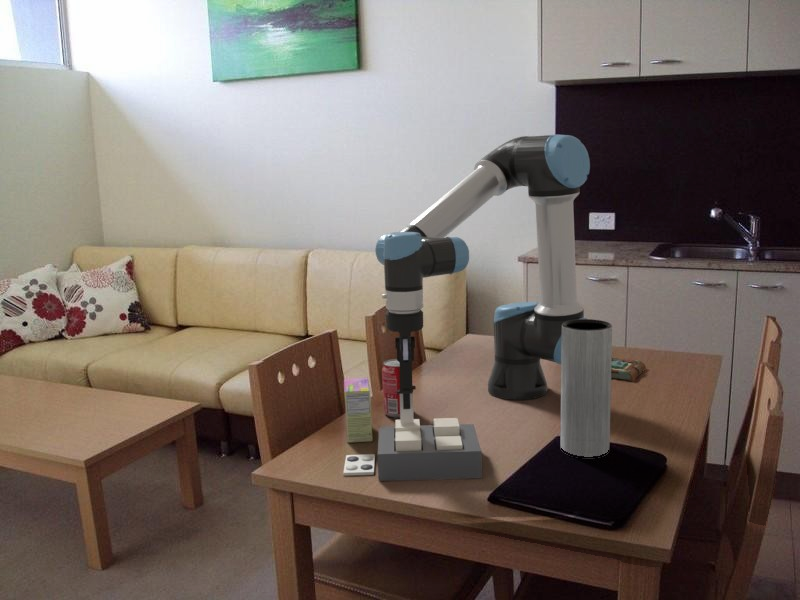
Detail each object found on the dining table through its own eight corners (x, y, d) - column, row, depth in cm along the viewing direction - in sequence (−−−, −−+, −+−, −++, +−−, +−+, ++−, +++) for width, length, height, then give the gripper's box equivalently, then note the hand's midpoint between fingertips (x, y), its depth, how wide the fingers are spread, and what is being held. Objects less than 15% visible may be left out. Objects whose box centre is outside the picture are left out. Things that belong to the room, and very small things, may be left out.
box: (345, 427, 178) (343, 378, 176) (370, 425, 178) (368, 377, 176) (346, 443, 168) (344, 392, 165) (372, 442, 168) (370, 390, 166)
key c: (460, 454, 154) (460, 435, 153) (462, 464, 149) (462, 445, 148) (435, 455, 154) (435, 436, 153) (437, 465, 149) (436, 445, 148)
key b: (419, 437, 160) (419, 419, 160) (420, 446, 156) (420, 427, 155) (396, 437, 160) (395, 419, 160) (396, 446, 156) (395, 428, 155)
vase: (600, 462, 153) (603, 331, 148) (553, 453, 159) (554, 326, 154) (615, 446, 162) (618, 321, 157) (569, 437, 167) (571, 317, 162)
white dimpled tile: (375, 456, 160) (374, 453, 160) (373, 474, 151) (373, 471, 151) (346, 457, 160) (346, 454, 160) (343, 475, 151) (343, 472, 151)
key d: (420, 449, 154) (420, 430, 153) (421, 459, 149) (421, 440, 148) (396, 450, 154) (395, 431, 153) (396, 460, 149) (395, 440, 148)
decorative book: (651, 371, 216) (651, 353, 215) (633, 387, 202) (633, 369, 201) (604, 365, 223) (605, 348, 222) (584, 380, 209) (584, 363, 208)
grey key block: (473, 448, 163) (473, 423, 162) (481, 477, 148) (481, 451, 147) (380, 451, 163) (379, 426, 162) (378, 481, 148) (377, 454, 147)
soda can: (410, 419, 182) (408, 366, 179) (380, 418, 183) (378, 365, 181) (415, 409, 188) (414, 358, 186) (387, 408, 190) (385, 357, 187)
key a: (457, 435, 161) (457, 417, 160) (459, 444, 156) (459, 426, 155) (434, 436, 160) (433, 418, 160) (435, 445, 156) (434, 427, 155)
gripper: (385, 304, 159) (389, 412, 164) (385, 317, 146) (388, 434, 151) (421, 303, 159) (424, 411, 164) (424, 316, 146) (426, 433, 151)
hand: (406, 422), depth 157 cm, fingers closed
